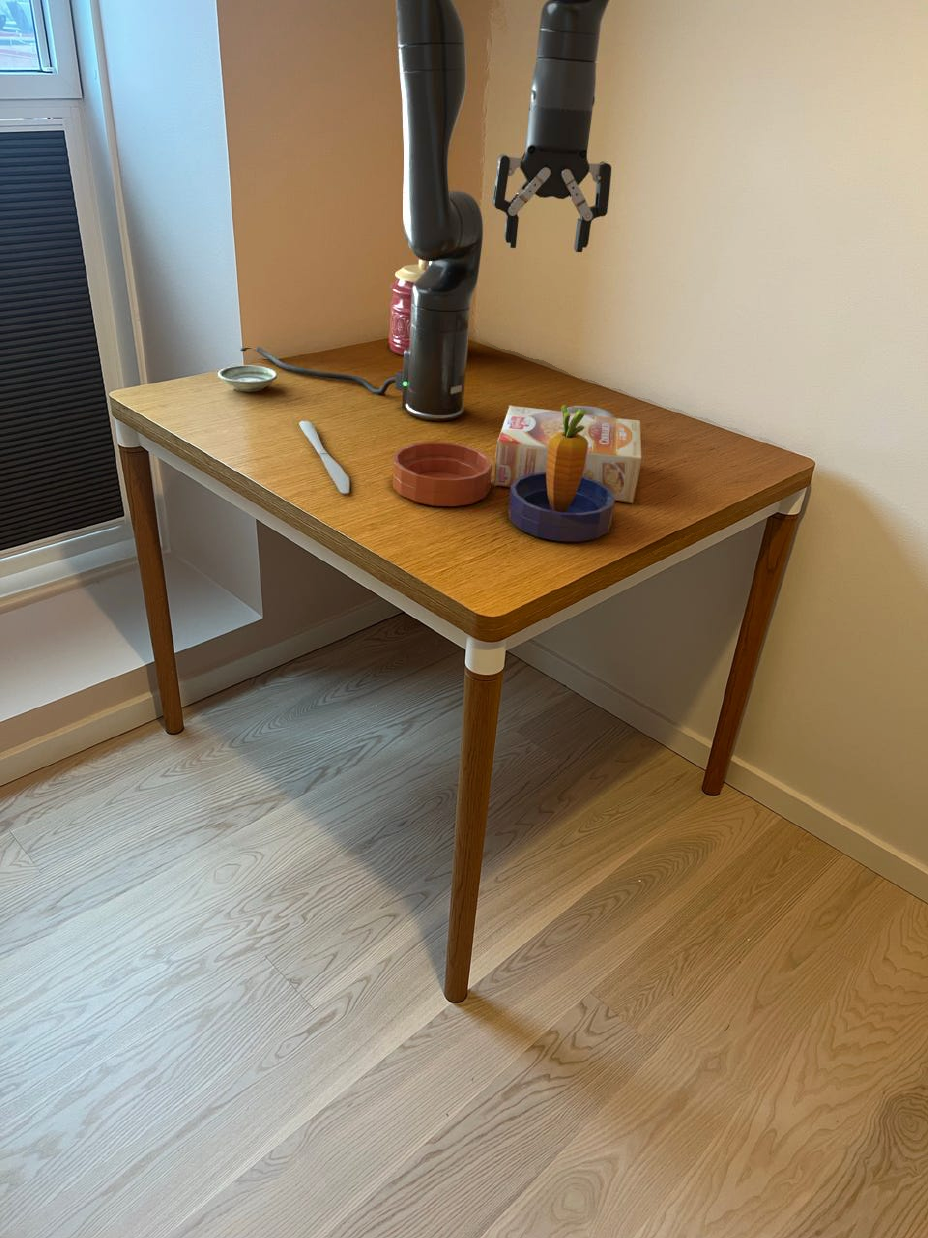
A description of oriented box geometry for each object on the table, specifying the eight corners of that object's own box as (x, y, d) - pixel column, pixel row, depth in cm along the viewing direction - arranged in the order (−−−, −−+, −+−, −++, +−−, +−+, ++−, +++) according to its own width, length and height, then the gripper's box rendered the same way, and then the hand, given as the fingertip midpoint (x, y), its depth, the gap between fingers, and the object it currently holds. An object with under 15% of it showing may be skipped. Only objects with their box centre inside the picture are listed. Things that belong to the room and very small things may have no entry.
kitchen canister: (381, 354, 176) (383, 258, 167) (396, 337, 187) (399, 246, 178) (447, 362, 175) (453, 266, 166) (459, 345, 186) (465, 253, 177)
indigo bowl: (487, 518, 118) (490, 489, 116) (547, 490, 127) (551, 463, 125) (571, 554, 111) (576, 524, 109) (628, 522, 120) (634, 494, 118)
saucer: (289, 387, 156) (289, 373, 155) (249, 400, 149) (248, 385, 148) (247, 374, 160) (246, 360, 159) (206, 386, 153) (205, 372, 152)
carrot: (536, 509, 120) (550, 398, 113) (573, 510, 121) (590, 400, 113) (542, 526, 116) (557, 412, 108) (580, 527, 117) (598, 414, 109)
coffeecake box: (642, 456, 121) (496, 439, 123) (633, 505, 125) (492, 488, 127) (640, 417, 134) (508, 403, 135) (632, 463, 137) (504, 448, 139)
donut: (551, 440, 144) (614, 448, 142) (553, 419, 142) (617, 427, 141) (558, 420, 152) (618, 427, 151) (560, 399, 150) (621, 407, 149)
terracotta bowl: (372, 485, 124) (373, 457, 122) (437, 461, 133) (438, 434, 131) (445, 517, 117) (447, 488, 115) (508, 489, 126) (511, 462, 124)
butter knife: (316, 419, 142) (297, 419, 141) (358, 492, 121) (336, 493, 120) (316, 423, 142) (297, 422, 141) (357, 496, 121) (335, 497, 120)
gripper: (613, 107, 112) (594, 247, 121) (498, 97, 111) (487, 240, 120) (626, 110, 106) (605, 258, 115) (505, 100, 105) (492, 250, 113)
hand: (545, 248), depth 117 cm, fingers open, 8 cm apart
